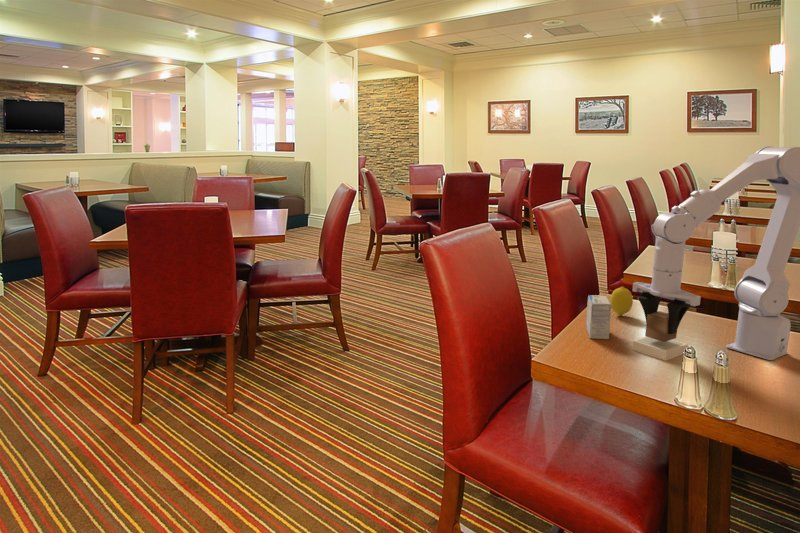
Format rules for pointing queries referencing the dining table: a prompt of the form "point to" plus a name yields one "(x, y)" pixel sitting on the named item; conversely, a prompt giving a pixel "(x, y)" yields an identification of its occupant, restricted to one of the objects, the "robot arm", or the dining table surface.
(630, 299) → the lemon
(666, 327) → the walnut block
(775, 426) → the dining table surface
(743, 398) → the dining table surface
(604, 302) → the medicine box
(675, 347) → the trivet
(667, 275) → the robot arm
